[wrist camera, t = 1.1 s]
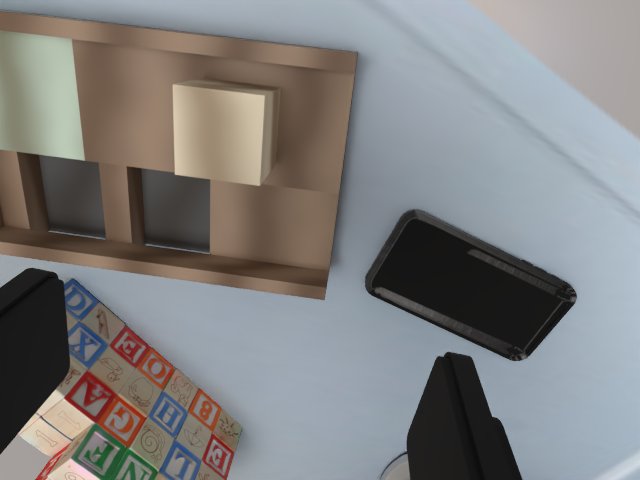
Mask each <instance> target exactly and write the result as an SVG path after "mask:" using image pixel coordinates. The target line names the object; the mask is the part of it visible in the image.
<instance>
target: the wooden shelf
mask: <svg viewBox="0 0 640 480" xmlns="http://www.w3.org/2000/svg"><path fill="white" fill-rule="evenodd" d="M357 56H358V52H352V51H343V50H335V49H326V48H318V47H309V46H301V45H293V44H284V43H276V42H267V41H259V40H251V39H242V38H234V37H225V36H217V35H208V34H200V33H192V32H183V31H175V30H166V29H158V28H149V27H141V26H133V25H124V24H116V23H107V22H99V21H91V20H82V19H74V18H65V17H57V16H48V15H40V14H32V13H23V12H15V11H6V10H0V254H4V255H11V256H18V257H25V258H32V259H39V260H46V261H53V262H60V263H67V264H74V265H81V266H88V267H95V268H102V269H109V270H116V271H123V272H131V273H138V274H145V275H152V276H159V277H166V278H173V279H180V280H187V281H194V282H201V283H208V284H215V285H222V286H229V287H236V288H243V289H250V290H257V291H264V292H271V293H278V294H285V295H292V296H299V297H306V298H313V299H320V300H325V294H326V288H327V281H328V275H329V269H330V262H331V254H332V246H333V239H334V231H335V223H336V216H337V208H338V201H339V193H340V185H341V178H342V170H343V162H344V155H345V147H346V140H347V132H348V124H349V117H350V109H351V102H352V94H353V86H354V79H355V71H356V63H357ZM200 78H210V79H218V80H226V81H234V82H242V83H250V84H259V85H267V86H275V87H281V94H280V108H279V123H278V138H277V152H276V165H275V166H274V167H273V169H272V170H271V171H270V173H269V174H268V176H267V177H266V178H265V180H264V181H263V182H262V184H261V185H260V186H257V185H249V184H242V183H234V182H227V181H219V180H211V179H204V178H196V177H189V176H181V175H175V159H174V121H173V84H176V83H181V82H186V81H190V80H195V79H200ZM50 230H51V231H59V232H66V233H73V234H80V235H87V236H95V237H102V238H106V240H103V239H96V238H89V237H82V236H74V235H67V234H60V233H53V232H48V231H50ZM145 244H152V245H159V246H166V247H174V248H181V249H188V250H195V251H202V252H209V253H210V254H204V253H196V252H189V251H182V250H175V249H168V248H160V247H153V246H146V245H145Z"/></svg>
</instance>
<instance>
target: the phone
mask: <svg viewBox="0 0 640 480" xmlns="http://www.w3.org/2000/svg"><path fill="white" fill-rule="evenodd" d="M365 287H366V290H367V291H368V293H369V294H371V295H372V296H374V297H376V298H378V299H381V300H383V301H385V302H387V303H389V304H391V305H393V306H396V307H398V308H400V309H402V310H404V311H406V312H408V313H411V314H413V315H415V316H417V317H419V318H421V319H423V320H426V321H428V322H430V323H432V324H434V325H436V326H438V327H441V328H443V329H445V330H447V331H449V332H451V333H453V334H456V335H458V336H460V337H462V338H464V339H466V340H468V341H471V342H473V343H475V344H477V345H479V346H481V347H483V348H486V349H488V350H490V351H492V352H494V353H496V354H498V355H501V356H503V357H505V358H507V359H509V360H512V361H520V360H524V359H526V358H527V357H528V356H530V355H531V353H532V352H533V351H534V350H535V349H536V348H537V347H538V345H539V344H540V343H541V342H542V341H543V340H544V338H545V337H546V336H547V335H548V334H549V333H550V332H551V330H552V329H553V328H554V327H555V326H556V325H557V323H558V322H559V321H560V320H561V319H562V318H563V317H564V315H565V314H566V313H567V312H568V311H569V310H570V308H571V307H572V306H573V305H574V303H575V302H576V298H577V295H576V292H575V291H574V289H573V288H572V287H571V286H570V285H569V284H568V283H567V282H565V281H563V280H561V279H559V278H558V277H556V276H554V275H550V274H548V273H547V272H546V271H544V270H542V269H540V268H538V267H534V266H533V265H532V264H530V263H528V262H526V261H524V260H523V261H522V260H520V259H518V258H516V257H514V256H512V255H510V254H508V253H506V252H504V251H502V250H500V249H498V248H496V247H494V246H492V245H490V244H488V243H486V242H484V241H481V240H479V239H477V238H475V237H473V236H471V235H469V234H467V233H465V232H463V231H461V230H459V229H457V228H455V227H453V226H451V225H449V224H447V223H445V222H443V221H441V220H439V219H437V218H435V217H433V216H431V215H429V214H427V213H425V212H423V211H420V210H410V211H407V212H406V213H404V214H403V215H402V217H401V218H400V219H399V221H398V223H397V224H396V226H395V228H394V229H393V231H392V233H391V234H390V236H389V238H388V239H387V241H386V243H385V244H384V246H383V248H382V249H381V251H380V253H379V254H378V256H377V258H376V259H375V261H374V263H373V264H372V266H371V268H370V269H369V271H368V273H367V275H366V277H365Z"/></svg>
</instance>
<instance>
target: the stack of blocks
mask: <svg viewBox="0 0 640 480" xmlns="http://www.w3.org/2000/svg"><path fill="white" fill-rule="evenodd" d="M64 290H65V303H66V316H67V328H68V341H69V354H70V368H69V371H68V374H67V376H66V377H65V379H64V380H63V381H62V382H61V384H60V385H59V386H58V387H57V388H56V389H55V391H54V392H53V393H52V394H51V395H50V396H49V398H48V399H47V400H46V401H45V402H44V404H43V405H42V406H41V407H40V408H39V409H38V411H37V412H36V413H35V414H34V415H33V416H32V418H31V419H30V420H29V421H28V422H27V424H26V425H25V426H24V427H23V428H22V429H21V431H20V432H19V433H18V434H19V435H20V436H21V437H22V438H23V439H24V440H26V441H27V442H29V443H30V444H31V445H33V446H34V447H36V448H37V449H39V450H40V451H41V452H43V453H44V454H46V455H49V456H52V457H53V458H52V459H50V461H49V462H48V463H47V464H46V466H45V467H44V469H43V470H42V472H41V473H40V474H39V476H38V477H37V478H36V479H35V480H227V476H228V473H229V470H230V466H231V463H232V459H233V456H234V452H235V451H236V448H237V444H238V441H239V438H240V434H241V431H242V427H241V426H240V425H239V424H238V423H237V422H236V421H235V420H234V419H232V418H231V417H230V416H229V415H228V414H227V413H226V412H225V411H223V410H222V409H221V407H220V406H219V405H218V404H217V403H215V402H214V401H213V400H212V399H211V398H210V397H209V396H208V395H206V394H205V393H204V392H203V391H202V390H201V389H199V388H198V387H197V386H196V385H195V384H194V383H193V382H192V381H191V380H190V379H189V378H187V377H186V376H185V375H184V374H183V373H182V372H181V371H179V370H178V369H177V368H174V367H173V366H172V365H171V364H170V363H169V362H167V361H166V360H165V359H164V358H163V357H162V356H161V355H159V354H158V353H157V352H156V351H155V350H154V349H152V348H150V347H149V345H147V344H146V343H145V342H144V341H143V340H142V339H141V338H139V337H138V336H137V335H136V334H135V333H134V332H133V331H131V330H130V329H129V328H128V327H126V326H125V324H124V323H123V322H122V321H121V320H120V319H119V318H117V317H116V316H115V315H114V314H113V313H112V312H111V311H109V310H108V309H107V308H106V307H105V306H104V305H103V304H101V303H100V302H99V301H98V300H97V299H96V298H95V297H93V296H92V295H91V294H90V293H89V292H88V291H87V290H85V289H84V288H83V287H82V286H81V285H79V284H78V283H77V282H76V281H75V280H74V279H71V280H69V281H68V282H67V283H65V284H64Z"/></svg>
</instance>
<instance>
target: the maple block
mask: <svg viewBox="0 0 640 480" xmlns="http://www.w3.org/2000/svg"><path fill="white" fill-rule="evenodd" d="M280 94H281V87H275V86H267V85H259V84H250V83H242V82H234V81H226V80H218V79H210V78H200V79H195V80H190V81H186V82H181V83H176V84H173V121H174V159H175V175H181V176H189V177H196V178H204V179H211V180H219V181H227V182H234V183H242V184H249V185H257V186H260V185H261V184H262V182H263V181H264V180H265V178H266V177H267V176H268V174H269V173H270V171H271V170H272V169H273V167H274V166H275V165H276V152H277V138H278V123H279V108H280Z"/></svg>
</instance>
